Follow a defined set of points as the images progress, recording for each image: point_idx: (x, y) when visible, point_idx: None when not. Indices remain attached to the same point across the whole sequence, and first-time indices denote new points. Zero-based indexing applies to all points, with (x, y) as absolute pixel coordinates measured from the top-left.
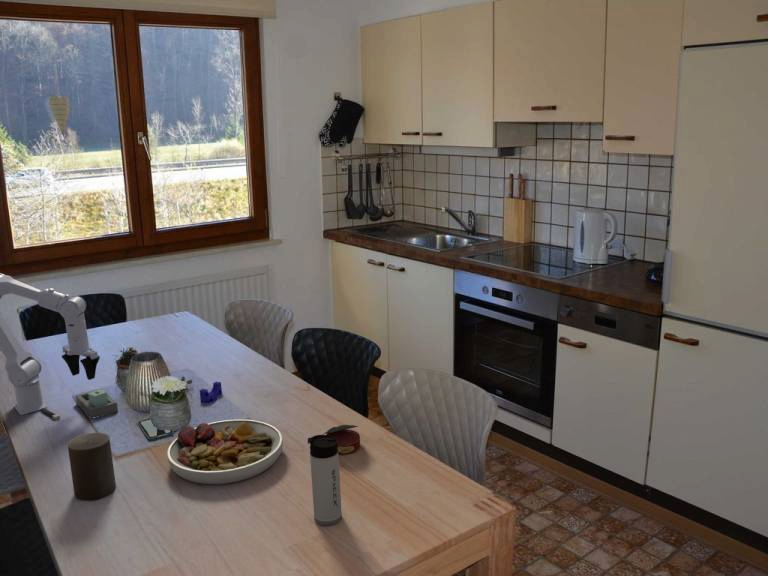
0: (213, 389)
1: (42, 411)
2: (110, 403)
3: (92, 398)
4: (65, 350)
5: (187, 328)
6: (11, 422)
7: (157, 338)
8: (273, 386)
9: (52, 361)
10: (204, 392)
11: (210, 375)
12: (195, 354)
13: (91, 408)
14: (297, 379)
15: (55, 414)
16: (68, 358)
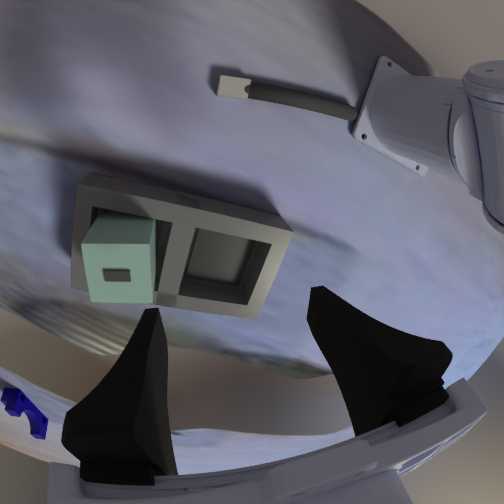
0: (35, 422)
1: (340, 103)
2: (79, 270)
3: (112, 235)
4: (452, 403)
5: None
6: (359, 6)
7: None
8: (27, 443)
9: (484, 308)
10: (5, 407)
11: None
12: (261, 459)
13: (89, 195)
14: (37, 458)
15: (246, 92)
16: (385, 372)
